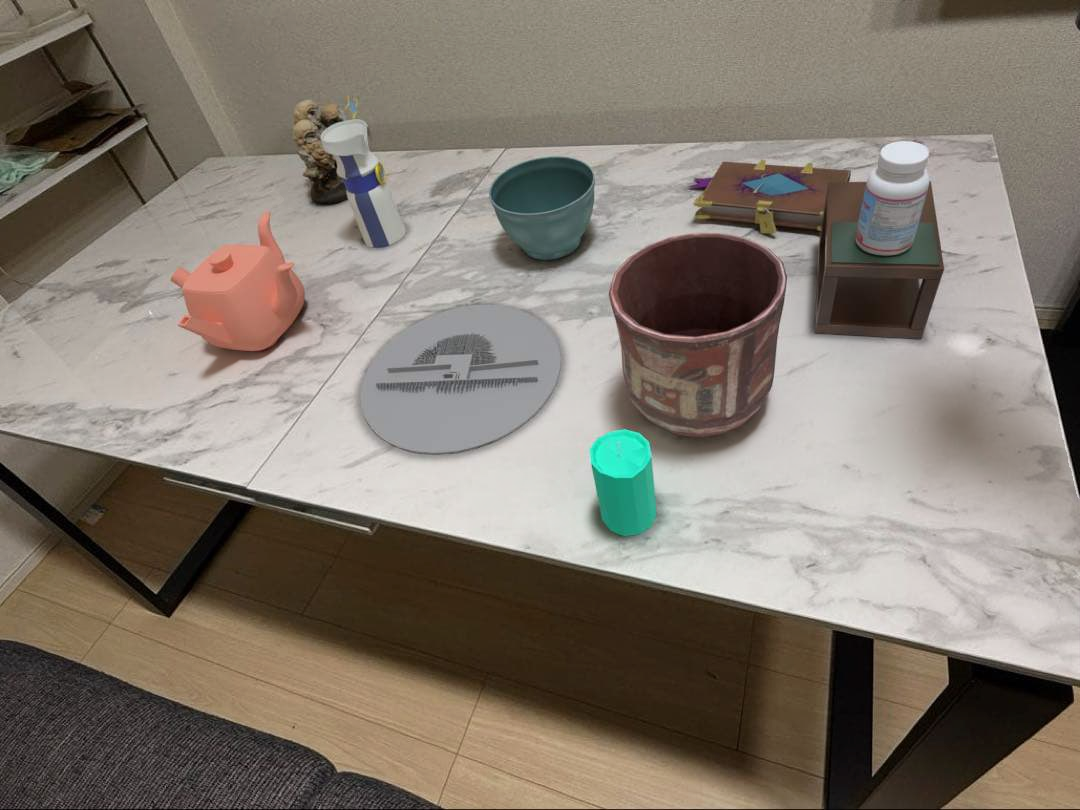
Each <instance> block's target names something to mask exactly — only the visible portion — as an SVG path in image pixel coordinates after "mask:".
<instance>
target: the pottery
mask: <svg viewBox="0 0 1080 810" xmlns="http://www.w3.org/2000/svg"><path fill="white" fill-rule="evenodd" d="M787 282H788V274H787V271H786V268H785V266H784V262H783V261H782V259H781V258H779V257H778V256H777V255H776V253H774V252H773V251H772V250H771V249H770V248H769V247H767V246H765V245H762V244H760V243H758V242H756V241H754V240H753V239H750V238H748V237H743V236H739V235H733V234H730V233H726V232H725V233H724V232H692V233H686V234H680V235H675V236H674V235H673V236H669V237H667V238H664V239H661V240H659V241H656V242H653V243H650V244H648V245H647V246H645V247H643V248H641V249H640V250H638V251H637V252H635V253H633V254H631V256H629V257H627V258H626V260H625V261H624V262H623V263H622V264H621V265H620V267H619V268H618V269H617V270H616V271H615V272H614V274H613V275H612V280H611V283H610V287H609V291H608V298H609V303H610V306H611V310H612V313H613V317H614V320H615V324H616V328H617V333H618V338H619V342H620V343H619V344H620V349H621V350H620V351H621V365H622V366H621V367H622V374H623V379H624V383H625V386H626V390H627V393H628V396H629V399H630V401H631V403H632V405H633V406H634V407H635V408H636V409H637V410H638V411H639V412H640V413H641V414H642V415H643V416H644V417H645V418H646V420H648V421H650V423H651V424H653V425H655V426H657V427H659V428H661V429H663V430H666V431H668V432H670V433H671V434H674V435H679V436H687V437H695V438H705V437H710V436H717V435H723V434H725V433H727V432H730V431H732V430H734V429H737V428H739V427H741V426H742V425H743V424H744V423H746V422H747V421H748V420H749V419H750V418H752V417H753V416H754V415H755V414H756V413H757V412H758V411H759V410H760V409H761V407H762V405H763V404H764V403H765V400H766V399H767V396H768V395H769V393H770V391H771V390H772V387H773V384H774V377H775V371H776V370H775V369H776V360H777V359H776V358H777V347H778V337H779V331H780V324H781V319H782V315H783V310H784V306H785V299H786V290H787Z"/></svg>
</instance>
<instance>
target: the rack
mask: <svg viewBox="0 0 1080 810" xmlns="http://www.w3.org/2000/svg"><path fill="white" fill-rule="evenodd" d="M866 183H867V181H849V182H828V187H827V194H826V200H825V207H824V213H823V220H822V226H821V231H820V233H819V240H818V246H817V266H816V267H817V269H816V271H817V272H816V294H815V295H816V296H815V297H816V298H815V328H814V333H815V334H823V335H838V336H839V335H842V336H858V337H859V336H860V337H875V338H877V337H878V338H897V339H911V340H912V339H913V340H916V339H917V340H922V338H923V335H924V332H925V330H926V326H927V324H928V320H929V317H930V314H931V311H932V308H933V305H934V302H935V300H936V299H935V298H936V295H937V293H938V290H939V287H940V284H941V280H942V277H943V275H944V272H945V264H944V259H943V251H942V246H941V238H940V232H939V231H940V230H939V225H938V218H937V211H936V206H935V205H936V204H935V200H934V192H933V186H932V181H931V180H930V182H929V187H928V190H927V194H926V198H925V202H924V205H923V209H922V213H921V217H920V220H919V224H918V227H917V231H916V235H915V238H914V241H913V244H912V246H911V247H910V248H909V249H908V250H906V251H905V252H903V253H900V254H897V255H891V256H883V255H874V254H871V253H868V252H865V251H864V250H862V249H861V248H860V247H859V246H858V245H857V243H856V232H857V227H858V222H859V217H860V212H861V207H862V202H863V197H864V192H865V187H866ZM920 280H921V283H920Z"/></svg>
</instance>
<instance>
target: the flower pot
mask: <svg viewBox="0 0 1080 810" xmlns="http://www.w3.org/2000/svg"><path fill="white" fill-rule="evenodd" d="M595 186H596V177H595V172H594V169H593V168H592V167H591V166H590V165H589V164H588V163H587V162H585V161H583V160H581V159H578V158H574V157H569V156H563V155H558V156H557V155H551V156H542V157H537V158H532V159H528V160H525V161H522V162H518V163H517V164H514V165H513V166H511V167H509V168H506V169H505V170H504V171H503V172H501V173H500V174H499V175H498V176H497V177H495V179H494V180H493V181H492V183H491V185H490V186H489V189H488V197H489V201H490V204H491V206H492V207H493V209H494V213H495V215H496V217H497V220H498V222H499V224H500V226H501V228H502V229H503V231H504V232H505V233H506V234H507V236H508V237H509V238H510V239H511V240H512V241H513V242H514V243H515V244H517V246H520V247H521V248H522V249H523V251H524V253H525V254H526V255H527V256H529V257H530V258H533V259H536V260H542V261H549V260H556V259H560V258H564V257H565V256H568V255H570V254H572V253H573V252H575V250H576V249H577V248H578V247H579V246H580V244H581V242H582V241H581V240H582V236H583V234H584V233H585V231H586V230H587V228H588V227H589V224H590V221H591V218H592V216H593V215H592V214H593V210H594V205H595Z"/></svg>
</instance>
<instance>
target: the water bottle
mask: <svg viewBox="0 0 1080 810" xmlns="http://www.w3.org/2000/svg"><path fill="white" fill-rule="evenodd" d="M346 97H347V104H346V106H345V107H344V109H345V111H349V112H350V114H351V117H352V119H349V120H347V121H342V122H339V123H336V124H334V125H332V126H330V127H328V128H327V129H325V130H324V131H323V132H322V134H321V143H322V147H323V150H324V151H325V152H327V153H329V154H332V155H333V156H334V157H335V159H336V162H337V174H338V176H340V177H342V180H343V182H344V184H345V187H346V189H347V198H348V199H347V200H348V203H349V206H350V209H351V210H352V213H353V215H354V218H355V220H356V223H357V225H358V228H359V230H360V231H359V232H360V233H361V237H362V240H363V243H364V244H365V245H366V246H367V247H368V248H369V247H370V248H373V249H374V248H375V249H378V248H379V249H381V248H385V247H389V246H391V245H394V244H395V243H397V242H399V241H400V240H401V239H402V238H403V237H404V236H405V235H406V232H407V228H406V226H405V224H404V222H403V219H402V217H401V215H400V212H399V210H398V208H397V206H396V203H395V200H394V198H393V195H392V193H391V189H390V187H389V186H388V184H387V182H386V177H387V176H386V172H385V168H384V166H383V164H382V163H381V162H380V161H379V160H378V158H377V156H375V155H374V154H373V153H372V152H371V150H370V147H369V140H370V141H373V133H372V131H371V129H370V126H368V124H367V122H366V121H365V120H363V119H358V118H356V115H360V114H362V113H361V111H360V109H359V108H358V101H359V99H358V98H354V99H352V98H351V97H350V96H349V95H347V96H346ZM368 139H369V140H368Z"/></svg>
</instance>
